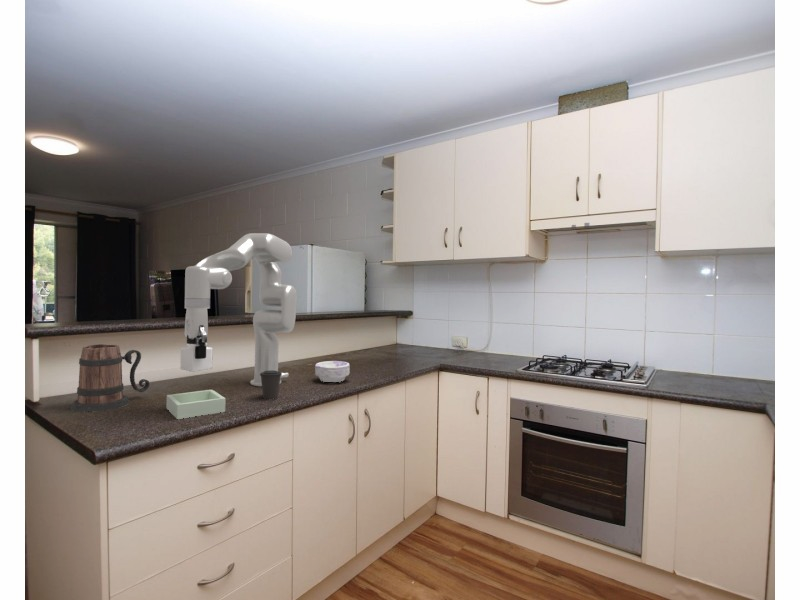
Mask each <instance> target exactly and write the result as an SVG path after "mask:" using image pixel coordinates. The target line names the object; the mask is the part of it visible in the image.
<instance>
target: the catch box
mask: <svg viewBox="0 0 800 600" xmlns="http://www.w3.org/2000/svg"><path fill="white" fill-rule="evenodd" d="M226 399H227V398H226V397H224V396H222V395H221V394H219V392H217V391H215V390H214V389H205V390H196V391H190V392H183V393H182V392H181V393H175V394H174V393H173V394H167V395H166V410H167V411H168V410H169V411H168V412H169V413H170V414H171V415H172V416H173V417H174V418H175V419H176V420H177V419H178V420H183V418H184V419H189V417H190V418H196V417H195V416H197V417H201V415H203V416H208V414H209V415H214V414H220V412H221V413H225V412H226Z"/></svg>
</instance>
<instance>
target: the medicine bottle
mask: <svg viewBox="0 0 800 600" xmlns="http://www.w3.org/2000/svg"><path fill="white" fill-rule="evenodd" d="M197 337H201V336H197ZM206 340H207V341H206V358H204V359H195V346H196V340H195V338H194V339H190V338H189V336H188V335H187V337H186V346H185V347H181V348H180V370H182V371H186V372H191V373H195V372H201V371H202V372H203V371H209V370H213V361H214V360H213V357H214V355H213V354H214V353H213V351H214V349H213V347H210V346H209V347H208V346H207V345H208V337H207V338H206ZM198 341H199V340H198Z"/></svg>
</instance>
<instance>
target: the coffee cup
mask: <svg viewBox="0 0 800 600" xmlns="http://www.w3.org/2000/svg"><path fill="white" fill-rule="evenodd" d="M282 373H283V372H282V371H279V370H278V371H264V372H262V373H260V376H261V383H262V386H261V391H262V392H261V393H262V399H263V398H265V399H264V400H266V399H273V398H277V397H279V392H280V386H281V385H280V384H281V383H280V378H281V375H282ZM281 379H282V378H281ZM277 399H278V398H277ZM273 400H274V399H273Z"/></svg>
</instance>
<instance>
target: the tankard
mask: <svg viewBox="0 0 800 600" xmlns="http://www.w3.org/2000/svg"><path fill="white" fill-rule="evenodd" d="M132 354H136V357H135V360H134V362H132V358H133V357H132ZM141 359H142V353H141V352H140V351H139V350H136V349H130V350H128V351H127V352H126V353H125V354H124V355H123V356H122V353H121V348H120V345H117V344H103V343H102V344H99V343H98V344H90V345H87V346H83V347H82V350H81V354H80V358H79V359H78V365H79V370H78V371H79V373H78V375H79V376H78V387H77V388H76V394H77V399H76V400H74V401H73V402H72V405H71V406H70V407H69V408H70V409H71V410H73V411H72V412H75V411H79V412H78V413H92V412H91V411H99V412H104V411H103V410H107V411H111V410H110V409H112V410H116V409H115V408H117V409H120V408H119V407H121V408H123V407H122V406H124V407H126V406H128V405H130V403H131V401H130V400H129V399H128V398H127V396H126V395H124V389H125V388H124V383H123V369H122V367H123V365H122V362H123V360H124V361H125V362H126V363H127V364H130V365H131V367H130V371H129V381H130V384H131V387H132V388H133V390H135V391H136V392H140V393H143V392H145V391H147V390H148V389H149V388H150V381H149V380H147V379H146V378H142V379H140V380H139V381H138V386H139V387H142V388H139V387H137V385H136V381H135V373H136V369H137V367H138V365H139V364H140V362H141ZM143 383H144V384H143ZM129 402H130V403H129ZM127 404H128V405H127ZM125 405H126V406H125ZM70 409H69V410H70ZM71 410H70V411H71ZM84 411H85V412H84ZM88 411H89V412H88Z"/></svg>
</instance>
